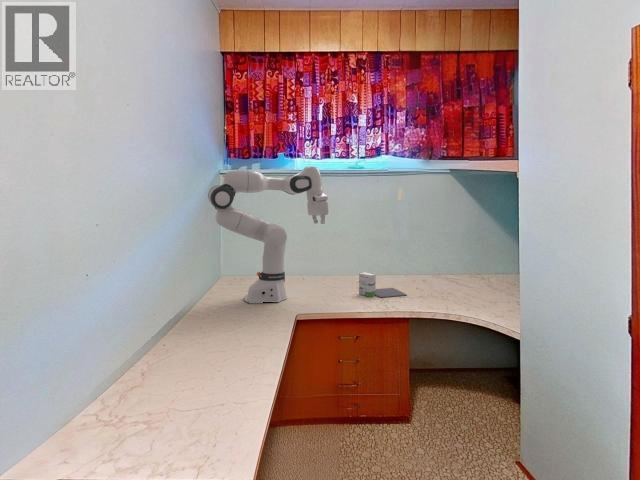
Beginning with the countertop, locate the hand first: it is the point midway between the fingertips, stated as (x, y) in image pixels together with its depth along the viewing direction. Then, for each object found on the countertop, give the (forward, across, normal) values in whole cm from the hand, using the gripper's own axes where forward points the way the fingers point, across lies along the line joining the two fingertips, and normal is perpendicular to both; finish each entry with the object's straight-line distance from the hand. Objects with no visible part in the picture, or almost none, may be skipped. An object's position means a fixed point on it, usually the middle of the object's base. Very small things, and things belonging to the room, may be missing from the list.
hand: (319, 223), depth 231 cm
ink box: (+43, +5, +19) cm, 47 cm away
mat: (+44, +6, +31) cm, 54 cm away
